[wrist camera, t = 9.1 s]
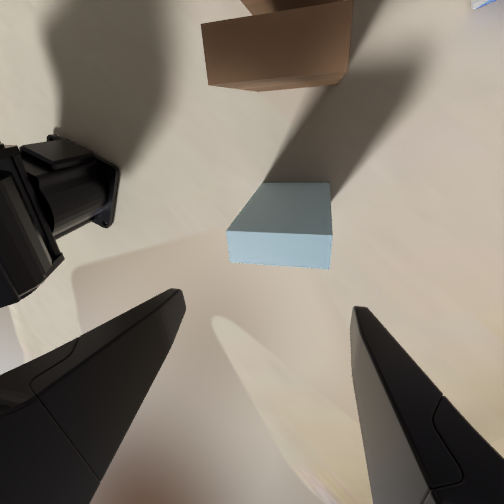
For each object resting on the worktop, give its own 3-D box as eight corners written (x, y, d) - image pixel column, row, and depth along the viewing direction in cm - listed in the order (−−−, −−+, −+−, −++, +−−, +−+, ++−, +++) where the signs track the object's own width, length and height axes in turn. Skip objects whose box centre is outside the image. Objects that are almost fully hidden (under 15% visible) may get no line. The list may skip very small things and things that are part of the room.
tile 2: (336, 84, 16) (347, 70, 9) (258, 91, 18) (208, 85, 10) (339, 48, 16) (353, -1, 8) (256, 58, 17) (200, 23, 9)
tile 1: (327, 206, 20) (329, 269, 13) (263, 204, 21) (229, 262, 14) (329, 182, 19) (332, 235, 12) (262, 182, 21) (226, 230, 13)
